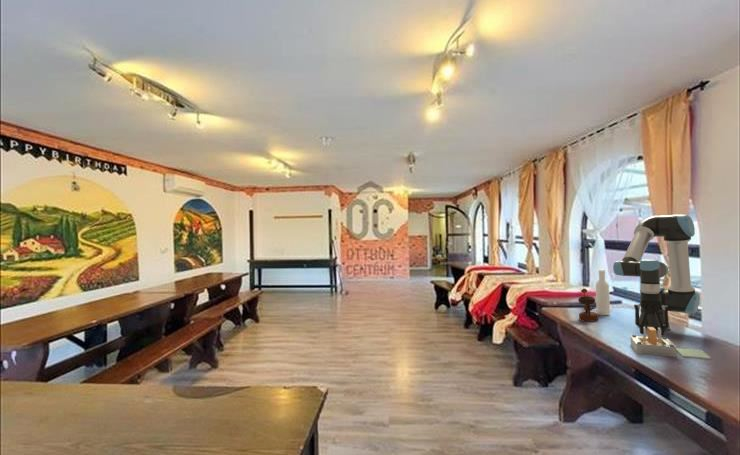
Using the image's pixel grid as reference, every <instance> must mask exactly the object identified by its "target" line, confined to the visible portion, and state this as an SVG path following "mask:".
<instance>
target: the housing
mask: <svg viewBox="0 0 740 455" xmlns="http://www.w3.org/2000/svg"><path fill="white" fill-rule="evenodd" d="M629 336H630V337H629V338H630V346H631V347H632V349H633V351H635V353H636V355H648V356H658V357H669V358H677V357H678V356H677V353H678V352H677V351H676V348H677V346H676V345H674V343H673V342H672V341H671V340H670V339H669V338H667V337H665V336H662V337H661V339H662V344H663V345H662V344H650V343H642V342H643V336H638V335H636V334H632V335H629ZM646 341H648V336H646ZM657 342H658V337H657Z"/></svg>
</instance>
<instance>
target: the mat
mask: <svg viewBox="0 0 740 455" xmlns="http://www.w3.org/2000/svg"><path fill="white" fill-rule="evenodd" d="M676 351H677V353H678V354H679V355H680V356H681V357H682V358H691V359H700V360H701V359H703V360H712V357H710V356H709V355H708V354H707V353H706V352H705V351H703V350H702V349H692V348H691V349H690V348H679V347H676Z"/></svg>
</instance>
